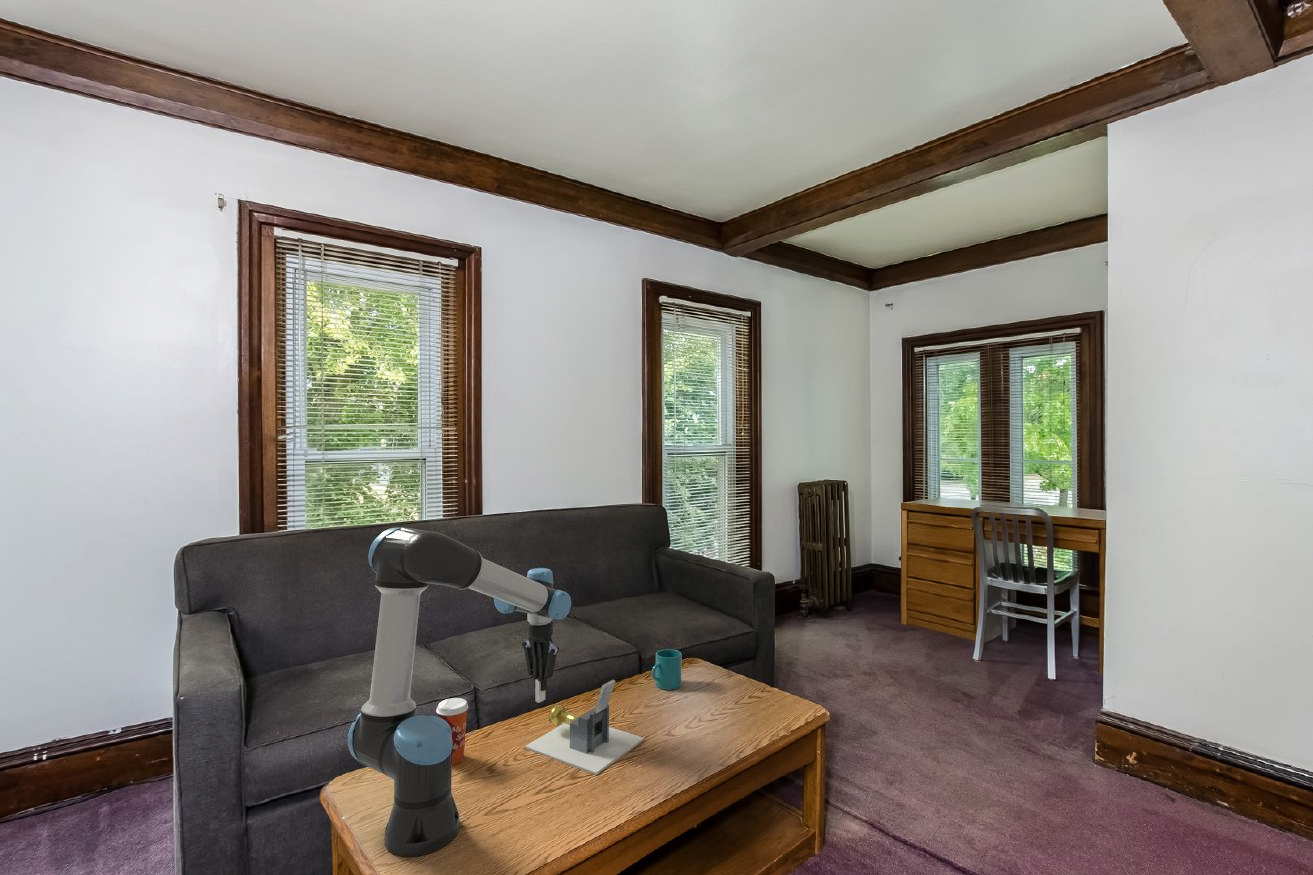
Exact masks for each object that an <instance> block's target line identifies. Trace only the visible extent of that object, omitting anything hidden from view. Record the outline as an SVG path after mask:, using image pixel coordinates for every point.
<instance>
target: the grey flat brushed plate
mask: <svg viewBox="0 0 1313 875" xmlns="http://www.w3.org/2000/svg"><path fill="white" fill-rule="evenodd" d="M615 683H616V680H614V679H611V680H610V681H608V682H606V683H604V684H602V685H601V687H600V688H601V689H600V690H599V692H600V693H598V694H599V695H598V698H597V702H596V703H595V707H594V708H595V709H594V713H595V714H597V713H598V712H600V711H602V710H603V709H605V708H607V705H609V701H610V698H611V696H612V693H613V689H614V686H615Z"/></svg>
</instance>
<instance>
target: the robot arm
mask: <svg viewBox="0 0 1313 875" xmlns="http://www.w3.org/2000/svg"><path fill="white" fill-rule="evenodd" d="M367 555H368V563H369V566H370V568H371V569H372V571H374V572H375V574H376V575H375V583H374V587H375V588H376V589H377V590H378V591H379V592H380V604H379V611H378V612H379V613H378V621H377V629H376V630H377V632H376V638H375V639H376V640H375V649H374V657H373V666H372V667H373V668H372V674H371V685H370V694H369V699H368V700H367V701H366V702H365V703H364V704H363V705H362V706H361V708H360V709H361V711H360V713H359V714H358V715H357V716H356V718H355V721H353V722H352V724H351V725H350V727H349V730H348V734H347V748H348V750H349V753H350V754H351V756H352V757H353V758H354V759H355V760H356V761H358V763H359V764H362V765H363V766H364V767H366V768H370V769H373V770H374V771H377V772H378V773H380V774H382V775H384V776H386V777H388V778H390V779H392V780H393V781H394V782H393V786H394V788H393V789H394V790H393V805H392V808H391V812H390V814H389V818H388V822H387V824H386V827H385V829H384V845H385V848H386V849H387V850H388V851H389V852H390V853H391V854H393V855H397V856H402V857H418V856H423V855H427V854H431V853H433V852H436V851H438V850H440V849H442V848H444V847H445V846H447V845H448V844H449V843H451V842H452V841H453V840H454V839H455V837H456V836H457V835H458V833H459V830H460V814H459V810H458V808H457V805H456V802H455V800H454V796H453V792H452V777H453V776H452V775H453V774H452V772H453V771H452V769H453V765H452V746H453V741H452V734H451V728H450V726H449V724H448V723H447V722H446V721H445V720H443V719H442V718H439V717H438V716H436V715H429V716H426V714H422V715H421V714H420V715H416V709H417V708H416V707H417V703H416V702H415V701H414V699H412V698H411V691H412V680H413V670H414V660H415V653H416V652H415V650H416V643H417V642H416V640H417V630H418V621H419V614H420V613H419V612H420V602H421V595H422V592H424V591H425V590H426V589H428V588H429V584H433V585H440V586H444V587H445V586H446V587H451V588H454V589H456V590H460V591H461V590H467V589H469V590H472V591H475V592H478V593H481V594H483V595H486V596H488V597H490V598H493V602H494V606H495V608H496V610H497V611H498V612H500V614H503V615H504V614H511V613H513V612H520V613H525V614H527V615H526V616H527V619H526V621H527V627H526V628H527V629H526V630H527V633H526V634H527V635H528V639H527V640H525V641H523V642H522V643H521V646H522V648H523V650H524V655H525V661H526V666H527V672H528V676H531V677H532V679H533V688H534V691H535V694H534V696H535V702H536V703H542V702H544V701H545V700H546V691H547V688H548V685H547V684H548V683H547V682H548V679H550V678H552V677H553V676H554V670H555V665H556V664H555V663H556V658H557V654H558V653H559V651H560V647H558V646H555V645H554V644H553V643H554V642H553V639H552V638H553V633H554V621H553V620H563V619H565V618H566V617H567V616H568V614H569V613H570V610H571V607H572V599H571V596H570V594H569V593H567V592H566V591H563V590H561V589H555V588H554V585H555V584H554V576H553V571H552V570H551V569H549V568H545V567H537V568H531V569H530V570H528V571H527V575H526V576H524V575H522V574H520V573H517V572H516V571H512V570H510V569H508V568H506V567H505V566H501V565H499V564H498V563H494V562H493V561H490V560H487V559H486V558H484V557H483V556H482V554H481V553H480V552H479V551H478V550H476V549H474V548H472V547H469V546H468V545H466V544H464V543H462V542H460V541H458V540H455V539H454V538H452V537H450V536H448V535H446V534H443V533H441V532H437V531H433V530H423V529H417V528H411V527H406V526H403V527H392V528H391V527H390V528H388V529H387V530H386V529H385V530H383V532H381V533H380V534H379V535H378V536H377V537H376V538H375V539H374V540H373V541H372V543H371V545H370V548H369V551H368V554H367Z"/></svg>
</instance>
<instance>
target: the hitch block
mask: <svg viewBox="0 0 1313 875" xmlns="http://www.w3.org/2000/svg"><path fill="white" fill-rule="evenodd" d="M594 709H595V707H593V708H592V709H590V710H588V711H586V712H585V713H583V714H581V715H579V716H580V717H578V719H576V720H575V721H573V722H571V723H570V748H571V749H574V750H577V751H580V752H582V753H585V754H587V753H589V752H591V753H593V752H594V749H595V748H596V747H598V746H599V745H601V744H602V743H604V742H606V743H608V742H609V727H610V704H608V705H607V708H605V709H603V710H602V711H600V712H598V713H597V714H595V713H594Z"/></svg>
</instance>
